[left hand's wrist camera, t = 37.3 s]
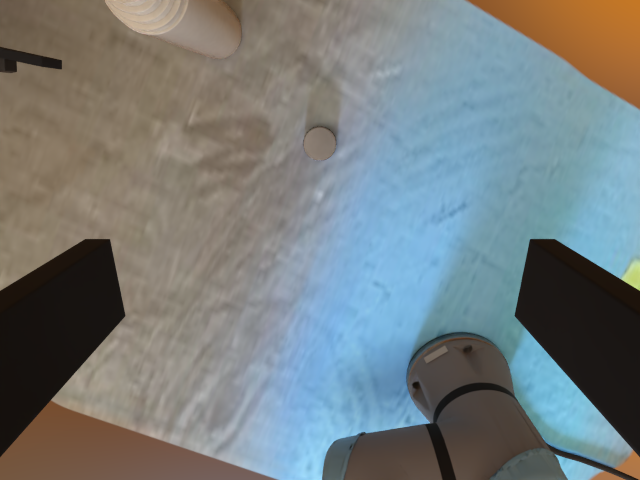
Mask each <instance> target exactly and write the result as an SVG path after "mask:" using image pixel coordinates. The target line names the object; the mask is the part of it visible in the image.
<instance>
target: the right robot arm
mask: <svg viewBox="0 0 640 480" xmlns="http://www.w3.org/2000/svg"><path fill="white" fill-rule="evenodd" d="M16 61H18V62H22V63H27V64H32V65H36V66H41V67H48V68H55V69H62V60H58V59H53V58H49V57H44V56H40V55H35V54H30V53H26V52H21V51H16V50H12V49H7V48H3V47H0V72H6V73H13V72H17V64H16Z"/></svg>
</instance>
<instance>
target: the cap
mask: <svg viewBox="0 0 640 480" xmlns="http://www.w3.org/2000/svg"><path fill="white" fill-rule="evenodd" d="M303 145H304V149H305V152H306V153H307V155H308V156H309V157H310V158H312V159H314V160H319V161H321V160H325V159H328V158H329V157H330V156H331V155H332V154H333V153H334V151H335V149H336V139H335V135H333V132H331V131H330V129H328V128H326V127H322V126H319V127H318V126H317V127H313V128H312V129H310V130H309V131H308V132H307V134H306V136H305V139H304V144H303Z"/></svg>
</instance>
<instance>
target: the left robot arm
mask: <svg viewBox="0 0 640 480" xmlns="http://www.w3.org/2000/svg"><path fill="white" fill-rule="evenodd" d="M124 317H125V312H124V307H123V302H122V297H121V292H120V287H119V282H118V277H117V272H116V267H115V262H114V257H113V252H112V247H111V242H110V239H85V240H83V241H82V242H80V243H78V244H77V245H75V246H73V247H72V248H70V249H68V250H67V251H65V252H63V253H62V254H60V255H59V256H57V257H55V258H54V259H52V260H50V261H49V262H47V263H45V264H44V265H42V266H40V267H39V268H37V269H36V270H34V271H32V272H31V273H29V274H27V275H26V276H24V277H22V278H21V279H19V280H17V281H16V282H14V283H12V284H11V285H9V286H8V287H6V288H4V289H3V290H1V291H0V457H1V456H2V454H3V453H4V452H5V451H6V450H7V449H8V448H9V447H10V445H11V444H12V443H13V442H14V441H15V440H16V439H17V437H18V436H19V435H20V434H21V433H22V432H23V431H24V430H25V428H26V427H27V426H28V425H29V424H30V423H31V422H32V421H33V419H34V418H35V417H36V416H37V415H38V414H39V413H40V412H41V410H42V409H43V408H44V407H45V406H46V405H47V404H48V403H49V401H50V400H51V399H52V398H53V397H54V396H55V395H56V394H57V392H58V391H59V390H60V389H61V388H62V387H63V386H64V385H65V383H66V382H67V381H68V380H69V379H70V378H71V377H72V376H73V374H74V373H75V372H76V371H77V370H78V369H79V368H80V366H81V365H82V364H83V363H84V362H85V361H86V360H87V359H88V357H89V356H90V355H91V354H92V353H93V352H94V351H95V350H96V348H97V347H98V346H99V345H100V344H101V343H102V342H103V341H104V339H105V338H106V337H107V336H108V335H109V334H110V333H111V332H112V330H113V329H114V328H115V327H116V326H117V325H118V324H119V323H120V321H121V320H122V319H123V318H124ZM515 317H516V318H517V319H518V320H519V321H520V323H521V324H522V325H523V326H524V327H525V328H526V329H527V330H528V332H529V333H530V334H531V335H532V336H533V337H534V338H535V339H536V341H537V342H538V343H539V344H540V345H541V346H542V347H543V348H544V350H545V351H546V352H547V353H548V354H549V355H550V356H551V357H552V359H553V360H554V361H555V362H556V363H557V364H558V365H559V366H560V368H561V369H562V370H563V371H564V372H565V373H566V374H567V376H568V377H569V378H570V379H571V380H572V381H573V382H574V383H575V385H576V386H577V387H578V388H579V389H580V390H581V391H582V392H583V394H584V395H585V396H586V397H587V398H588V399H589V400H590V401H591V403H592V404H593V405H594V406H595V407H596V408H597V409H598V410H599V412H600V413H601V414H602V415H603V416H604V417H605V418H606V419H607V421H608V422H609V423H610V424H611V425H612V426H613V427H614V428H615V430H616V431H617V432H618V433H619V434H620V435H621V436H622V437H623V439H624V440H625V441H626V442H627V443H628V444H629V445H630V447H631V448H632V449H633V450H634V451H635V452H636V453H637V454H638V456H639V457H640V291H639V290H637V289H636V288H634V287H632V286H631V285H629V284H628V283H626V282H624V281H623V280H621V279H619V278H618V277H616V276H614V275H613V274H611V273H609V272H608V271H606V270H604V269H603V268H601V267H600V266H598V265H596V264H595V263H593V262H591V261H590V260H588V259H586V258H585V257H583V256H581V255H580V254H578V253H577V252H575V251H573V250H572V249H570V248H568V247H567V246H565V245H563V244H562V243H560V242H558V241H557V240H555V239H530V242H529V247H528V252H527V257H526V262H525V267H524V272H523V277H522V282H521V287H520V292H519V297H518V302H517V307H516V312H515ZM406 380H407V386H408V389H409V393H410V396H411V398H412V400H413V402H414V403H415V405H416V406H417V408H418V409H419V410H420V411H421V412H422V414H423V415H424V416H425V417H426V418H427V420H428V421H429V422H430V424H422V425H416V426H410V427H404V428H397V429H391V430H385V431H379V432H372V433H365V432H361V433H359V434H357V435H356V436H351V437H346V438H341V439H338V440H336V441H335V442H333V444H332V445H331V446H330V448H329V449H328V451H327V454H326V457H325V461H324V467H323V475H322V480H568V479H567V477H566V476H565V474H564V472H563V471H562V469H561V467H560V464H559V461H558V459H557V457H556V456H555V454H556V455H559V456H562V457H565V458H568V459H572V460H575V461H579V462H582V463H585V464H587V465H590V466H593V467H596V468H598V469H601V470H604V471H606V472H609V473H612V474H614V475H616V476H619V477H621V478H623V479H626V480H638V479H636V478H634V477H632V476H629V475H627V474H625V473H622V472H620V471H618V470H615V469H613V468H610V467H608V466H605V465H603V464H600V463H597V462H594V461H592V460H589V459H586V458H583V457H580V456H577V455H573V454H570V453H566V452H563V451H560V450H558V449H555V448H553V447H552V446H550V445H548V444H547V443H546V442H545V441H544V440H543V438H542V437H541V435H540V434H539V432H538V431H537V429H536V428H535V426H534V425H533V423H532V422H531V420H530V419H529V417H528V416H527V414H526V413H525V411H524V410H523V408H522V407H521V405H520V404H519V402H518V401H517V399H516V397H515V394H514V389H513V384H512V379H511V374H510V369H509V366H508V363H507V361H506V359H505V358H504V356H503V355H502V353H501V352H500V350H499V349H498V348H497V347H496V346H495V345H494V344H493V343H492V342H491V341H489V340H487V339H486V338H483V337H481V336H478V335H474V334H469V333H455V334H449V335H445V336H442V337H439V338H436V339H434V340H432V341H431V342H429V343H427V344H426V345H424V346H423V347H422V348H421V349H420V350H419V351H418V352H417V353H416V354H415V355H414V357H413V358H412V360H411V362H410V364H409V366H408V370H407V376H406Z"/></svg>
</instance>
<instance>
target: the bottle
mask: <svg viewBox="0 0 640 480" xmlns="http://www.w3.org/2000/svg"><path fill="white" fill-rule="evenodd" d="M105 2H106V4H107V6H108V7H109V9H110V10H111V11H112V13H113V14H114V15H115V16H116V17H117V18H118V19H120V20H121V21H122V22H123V23H124V24H125V25H126V26H128V27H129V28H131V29H132V30H134V31H136V32H139V33H142V34H144V35H147V36H150V37H153V38H156V39H159V40H161V41H164V42H167V43H170V44H173V45H176V46H178V47H181V48H184V49H187V50H190V51H192V52H195V53H198V54H201V55H204V56H207V57H210V58H213V59H223V58H226V57H229V56H230V55H232V54H233V53H234V52H235V51H236V49H237V48H238V46H239V44H240V41H241V34H242V32H241V25H240V21H239V19H238V17H237V15H236V14H235V12H234V11H233V10H232V9H231V8H230V7H229V6H228V5H227V4H226V3H225V2H224V1H223V0H105Z"/></svg>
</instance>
